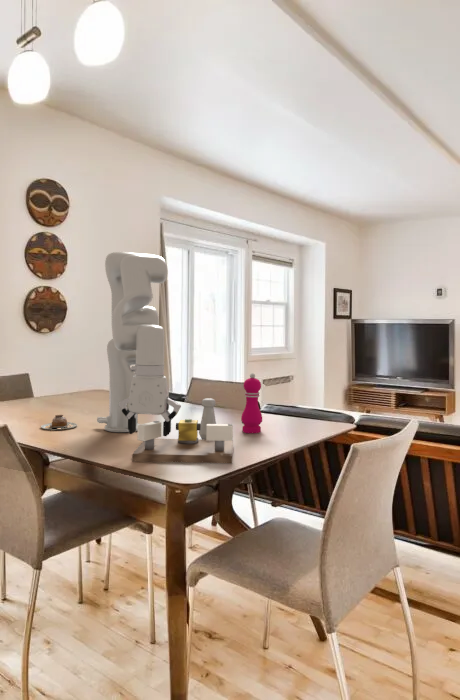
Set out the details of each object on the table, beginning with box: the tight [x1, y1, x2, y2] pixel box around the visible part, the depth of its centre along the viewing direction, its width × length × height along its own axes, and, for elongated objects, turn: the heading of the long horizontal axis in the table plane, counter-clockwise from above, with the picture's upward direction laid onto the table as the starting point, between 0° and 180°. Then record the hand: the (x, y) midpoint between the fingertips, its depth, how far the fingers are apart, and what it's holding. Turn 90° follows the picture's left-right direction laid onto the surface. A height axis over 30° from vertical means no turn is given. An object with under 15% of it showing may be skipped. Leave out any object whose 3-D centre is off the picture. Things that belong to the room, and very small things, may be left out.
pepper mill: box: [241, 373, 263, 434], centre depth 171 cm, size 7×7×20 cm
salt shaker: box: [198, 397, 217, 440], centre depth 158 cm, size 6×6×13 cm
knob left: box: [137, 420, 162, 450], centre depth 136 cm, size 7×3×7 cm, turn 148°
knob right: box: [206, 423, 234, 451], centre depth 136 cm, size 7×3×7 cm, turn 89°
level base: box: [131, 418, 234, 464], centre depth 140 cm, size 26×19×9 cm
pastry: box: [40, 414, 78, 431], centre depth 174 cm, size 12×12×5 cm
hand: (149, 434), depth 136 cm, fingers open, 9 cm apart
